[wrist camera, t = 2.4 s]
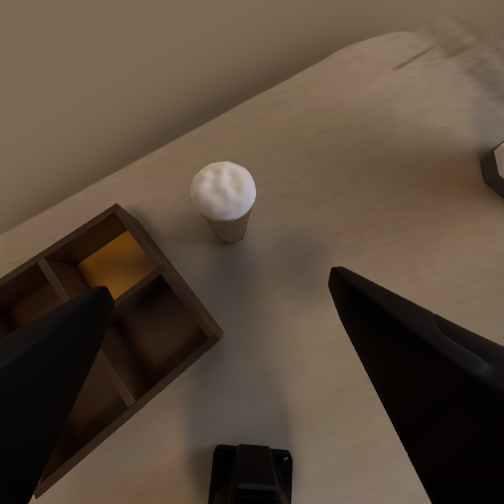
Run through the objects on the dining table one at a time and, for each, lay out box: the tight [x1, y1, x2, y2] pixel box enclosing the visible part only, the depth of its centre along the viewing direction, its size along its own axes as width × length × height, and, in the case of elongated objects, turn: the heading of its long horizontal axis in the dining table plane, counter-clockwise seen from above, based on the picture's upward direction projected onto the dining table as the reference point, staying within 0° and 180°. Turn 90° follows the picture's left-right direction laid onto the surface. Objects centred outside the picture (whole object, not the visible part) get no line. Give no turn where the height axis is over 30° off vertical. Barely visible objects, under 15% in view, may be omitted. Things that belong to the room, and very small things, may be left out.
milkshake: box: [191, 161, 256, 244], centre depth 18 cm, size 4×5×10 cm
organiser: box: [0, 203, 224, 499], centre depth 18 cm, size 15×15×4 cm
